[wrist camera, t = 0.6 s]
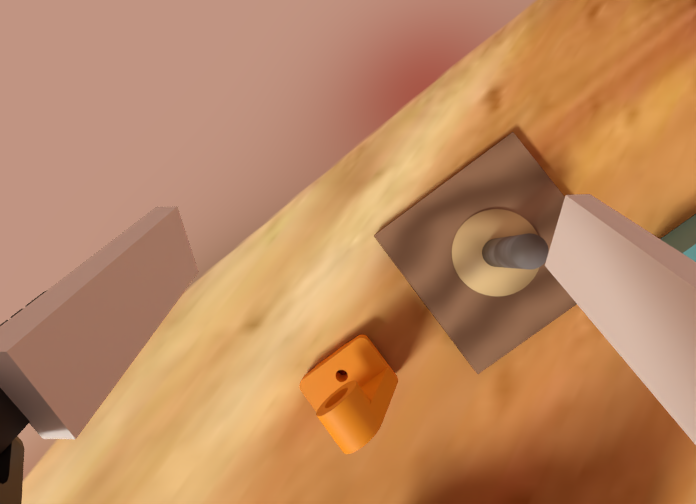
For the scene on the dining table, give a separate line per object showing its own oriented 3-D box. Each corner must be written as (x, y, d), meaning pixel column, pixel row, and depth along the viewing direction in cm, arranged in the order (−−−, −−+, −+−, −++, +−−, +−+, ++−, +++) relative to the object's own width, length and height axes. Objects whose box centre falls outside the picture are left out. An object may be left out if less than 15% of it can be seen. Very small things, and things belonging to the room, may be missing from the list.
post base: (614, 270, 44) (695, 274, 33) (474, 370, 45) (507, 406, 34) (508, 136, 45) (552, 97, 34) (373, 236, 46) (374, 229, 35)
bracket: (363, 330, 46) (360, 355, 34) (396, 374, 45) (405, 415, 33) (300, 376, 46) (275, 418, 34) (332, 420, 46) (318, 478, 34)
